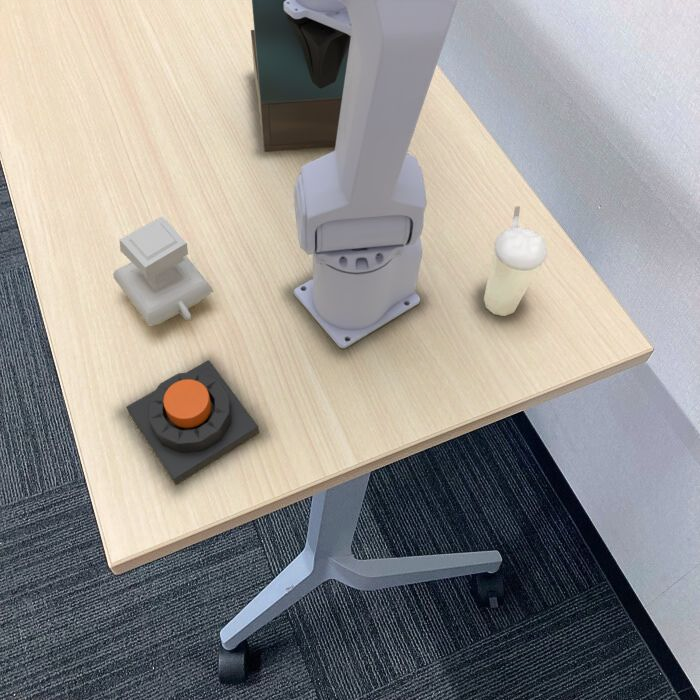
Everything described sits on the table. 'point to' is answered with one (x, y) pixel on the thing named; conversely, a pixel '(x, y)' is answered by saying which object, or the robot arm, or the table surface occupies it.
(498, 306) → the milkshake
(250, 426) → the switch block
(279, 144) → the box
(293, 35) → the lid
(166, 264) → the stamp
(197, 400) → the button
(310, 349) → the table surface
